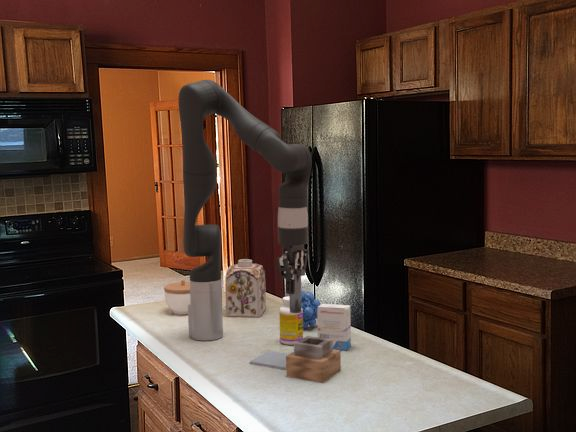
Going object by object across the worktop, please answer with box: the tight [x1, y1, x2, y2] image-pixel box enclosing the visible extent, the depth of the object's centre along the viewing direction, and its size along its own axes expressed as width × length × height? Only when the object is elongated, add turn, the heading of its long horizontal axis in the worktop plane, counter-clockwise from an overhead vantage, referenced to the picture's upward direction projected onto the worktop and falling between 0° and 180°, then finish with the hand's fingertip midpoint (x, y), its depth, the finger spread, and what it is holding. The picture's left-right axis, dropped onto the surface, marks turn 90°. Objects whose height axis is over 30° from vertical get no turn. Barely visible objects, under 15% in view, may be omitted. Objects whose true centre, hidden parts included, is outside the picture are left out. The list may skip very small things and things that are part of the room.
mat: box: [249, 350, 290, 371], centre depth 172 cm, size 12×10×1 cm
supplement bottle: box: [278, 295, 304, 346], centre depth 188 cm, size 7×7×13 cm
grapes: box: [301, 290, 321, 330], centre depth 200 cm, size 12×7×12 cm, turn 117°
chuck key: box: [288, 265, 306, 313], centre depth 167 cm, size 3×6×11 cm, turn 42°
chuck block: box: [285, 335, 342, 383], centre depth 163 cm, size 10×10×8 cm
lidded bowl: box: [163, 279, 191, 316], centre depth 224 cm, size 13×13×11 cm
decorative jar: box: [224, 258, 267, 318], centre depth 221 cm, size 12×12×18 cm
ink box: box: [316, 303, 352, 352], centre depth 183 cm, size 9×5×12 cm, turn 71°
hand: (293, 291), depth 167 cm, fingers closed on chuck key, 3 cm apart
